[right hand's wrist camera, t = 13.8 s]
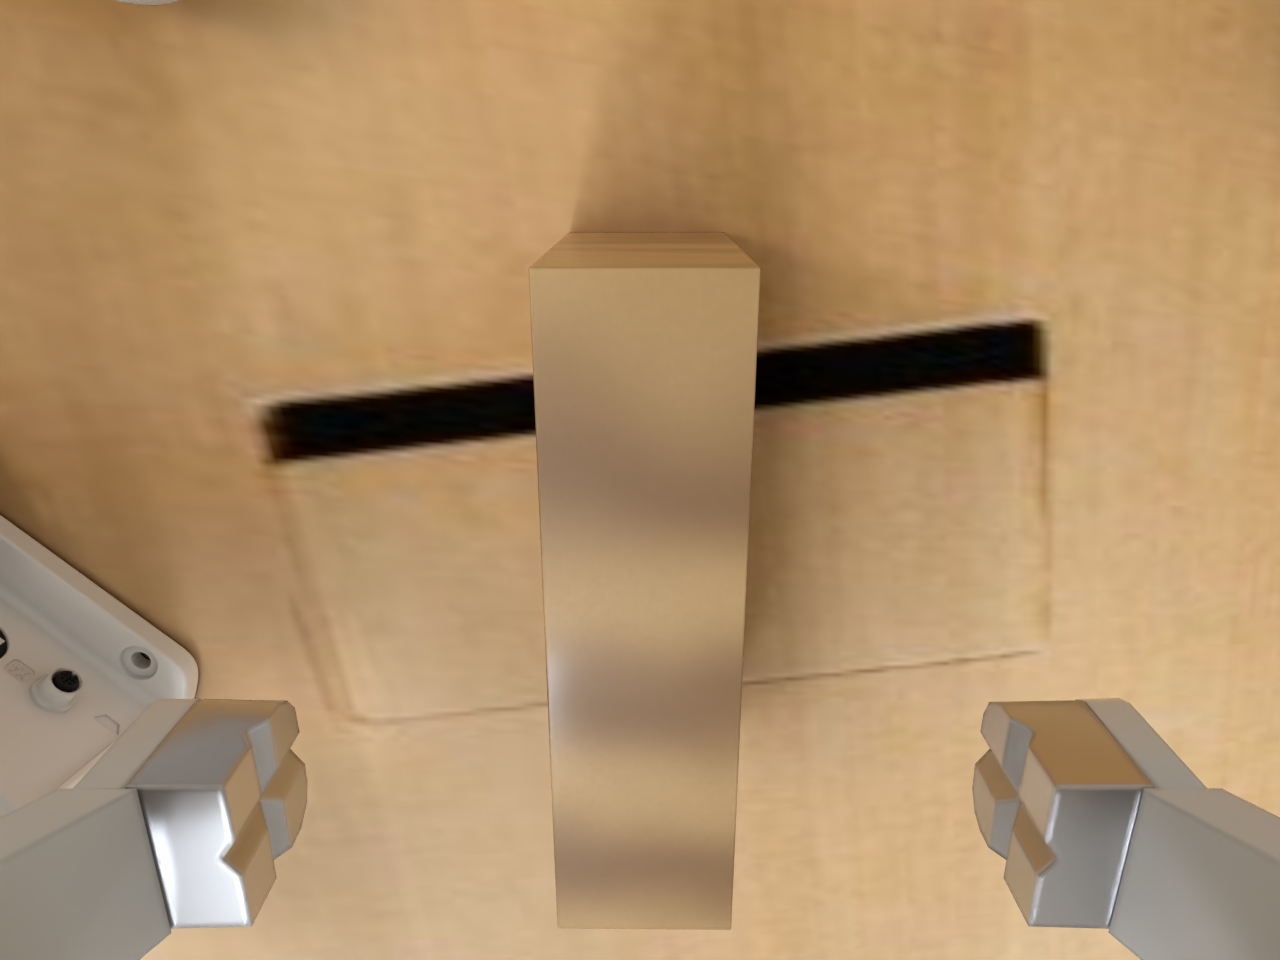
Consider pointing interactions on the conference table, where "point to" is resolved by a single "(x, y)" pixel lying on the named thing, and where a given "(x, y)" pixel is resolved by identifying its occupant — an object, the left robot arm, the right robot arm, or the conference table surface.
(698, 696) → the box
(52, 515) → the conference table surface
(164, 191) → the conference table surface
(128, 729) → the right robot arm
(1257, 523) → the conference table surface
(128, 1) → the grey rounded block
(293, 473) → the conference table surface
